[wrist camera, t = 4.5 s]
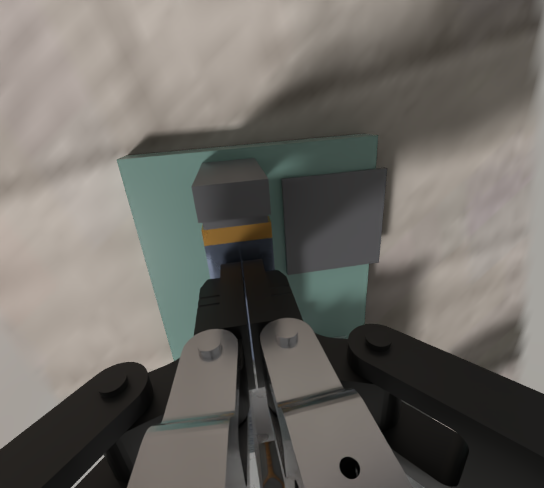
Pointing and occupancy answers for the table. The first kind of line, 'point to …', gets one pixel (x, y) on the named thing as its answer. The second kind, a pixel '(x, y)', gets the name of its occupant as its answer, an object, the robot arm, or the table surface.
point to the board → (284, 221)
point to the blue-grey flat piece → (239, 250)
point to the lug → (231, 194)
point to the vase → (270, 466)
